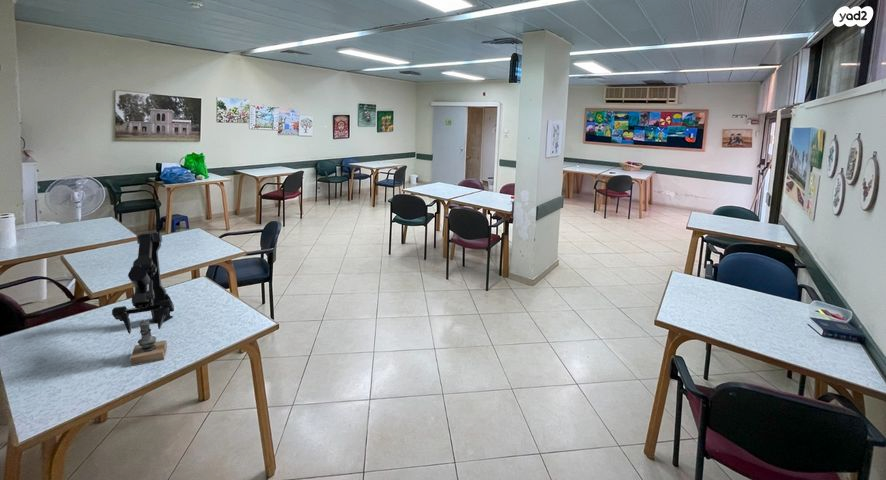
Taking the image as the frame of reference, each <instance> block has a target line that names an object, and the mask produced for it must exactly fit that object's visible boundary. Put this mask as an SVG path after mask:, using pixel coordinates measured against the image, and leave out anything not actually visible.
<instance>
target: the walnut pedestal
mask: <svg viewBox="0 0 886 480" xmlns="http://www.w3.org/2000/svg"><path fill="white" fill-rule="evenodd" d="M154 345H156V346H157V348H156V349H155V350H152V351H150V352H141V351H140V349H141V348H142V347H141V346H140V345H139V344H138V345H134V347H133V350H132V353H131V355H130V357H129V358H130V364H131V366H138V365H143V364H147V363H152V362H153V363H154V362H159V361H163V360H165V356H166V353H167V348H168V345H167V340H166V339H165V340H160V341H156V342H155V344H154Z"/></svg>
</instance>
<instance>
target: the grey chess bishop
mask: <svg viewBox="0 0 886 480" xmlns="http://www.w3.org/2000/svg"><path fill="white" fill-rule="evenodd" d="M149 322H150V321H147V320H145V319H144V318H143V319H142V321H141V322H140V323H139V329H140V331H139V333H140V335H141V337H140V339H139V340H138V341H137V344H138V345H140V346H141V347H142V348H141V349H140V351H141V352H150V351H152V350H155V349H156V348H157V346H156V345H154V344H155V342H157V341H156V340H157V337H156V336H153V335H152V332H151V331H152V329H151V328H150V324H149Z"/></svg>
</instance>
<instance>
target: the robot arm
mask: <svg viewBox="0 0 886 480" xmlns="http://www.w3.org/2000/svg"><path fill="white" fill-rule="evenodd" d="M136 241H137V244H138V253H137V258H136V259H134V261H133V263H132V266H131V267H130V271H129V272H128V273H127V277H128V279H129V281H130V282H131V284H132V286H133V287H134V294H131V295H130V296H131V297H130V298H131V304H132V306H133V307H132V308H127V307H126V305H123V306H115V307H113V308H112V310H111V315H112V317H114V319H115V320H117V321H120V322H123V324H124V326H125V328H126V330H127V333H128V334H129V335H130V334H131V319H130V317H129V316H130V315H132V314H140V313H147V312H151V313H150V314H151V317H152V318H151V319H150V320H149V322H150V323H157V328H158V330H160V329H161V327H162V326H163V323H165V322H167V321H168V320H170V319H172V318H173V317H174V316H173V315H171V312H174V311H175V306H174V305H175V304H174V303H173V301H172V299H171V297H170V295H169V293H167V289H166V288H165V287H164V286H163V285H162V280H161V270H160V262H159V253H158V252H159V250H160V249H161V247H162V242H163V237H162V233H159V232H158V231H149V232H141V233H140V234H138V235H136Z"/></svg>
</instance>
